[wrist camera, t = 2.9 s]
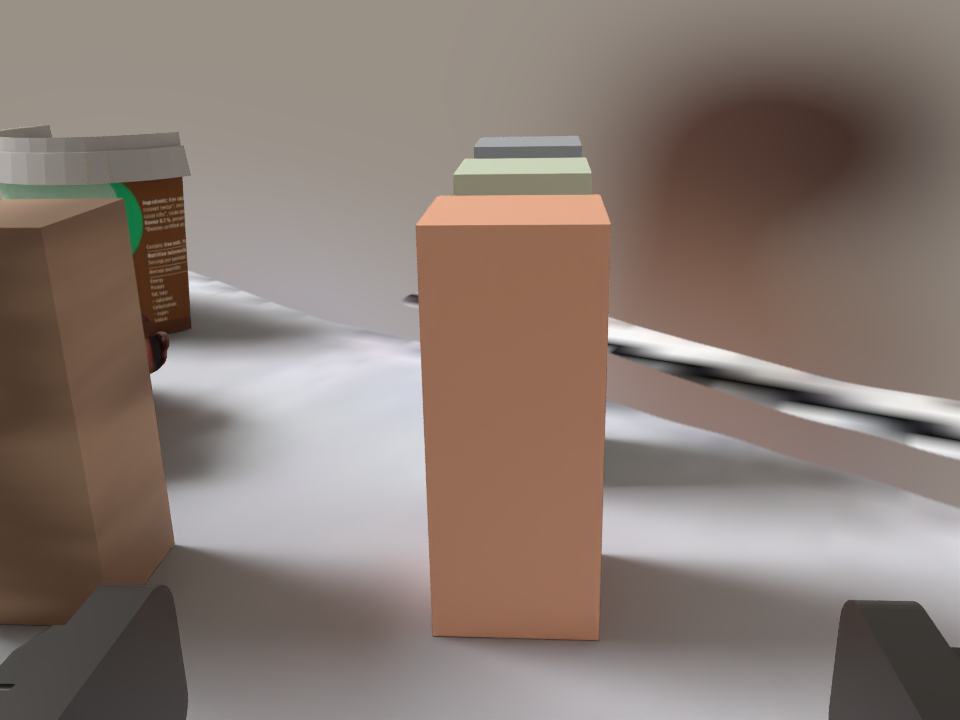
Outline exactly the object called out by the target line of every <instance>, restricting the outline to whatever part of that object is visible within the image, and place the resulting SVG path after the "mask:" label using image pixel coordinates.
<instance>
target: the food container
mask: <svg viewBox="0 0 960 720" xmlns="http://www.w3.org/2000/svg"><path fill="white" fill-rule="evenodd" d="M190 175H191V174H190V170H189V166H188V162H187V158H186V154H185V149H184V146H181V145H180V139H179V132H169V133H156V134H140V135H123V136H105V137H104V136H103V137H73V138H52V135H51V131H50V126H49V125H45V126H31V127H21V128H13V129H5V130H0V189H1V192H2V196H3V199H104V198H124V201H125V208H126V215H127V222H128V229H129V236H130V242H131V249H132V256H133V263H134V270H135V277H136V283H137V290H138V297H139V304H140V311H141V313H142V314H144V315H145V316H147V317H148V319H149V320H150V321H149V322H147V321H142V324H143V331H144V333H146V334H148V335H155V334H156V333H158V332H165V333H166V334H169V333H174V332H178V331H182V330H185V329H189V328H191V317H190V300H189V283H188V267H187V251H186V250H187V249H186V234H185V233H186V232H185V216H184V200H183V199H184V198H183V181H182V177H183V176H190Z"/></svg>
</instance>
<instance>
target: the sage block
mask: <svg viewBox="0 0 960 720" xmlns="http://www.w3.org/2000/svg"><path fill="white" fill-rule="evenodd" d="M453 181H454V182H453V184H454V196H487V195H591V181H592V174H591V170H590V167H589V165H588V162H587V159H586V158H502V159H465V160H464V161H463V162H462V164H461V165H460V166H459V168H458V169H457V170H456V172H455V173H454V174H453Z"/></svg>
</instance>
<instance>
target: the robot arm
mask: <svg viewBox="0 0 960 720" xmlns="http://www.w3.org/2000/svg"><path fill="white" fill-rule="evenodd" d="M187 707H188V692H187V684H186V677H185V671H184V664H183V658H182V651H181V644H180V638H179V631H178V625H177V618H176V611H175V605H174V600H173V596H172V594H171V592H170V590H169V589H168V587H166V586H164V585H131V584H103V585H101V586H99V587H98V588H97V589H96V590H95V591H94V592H93V593H92V594H91V595H90V597H89V598H88V599H87V600H86V601H85V602H84V604H83V605H82V606H81V607H80V608H79V610H78V611H77V612H76V613H75V614H74V615H73V617H72V618H71V619H70V620H69V621H68V622H67V624H66V625H53V626H52V627H50V628H48V629H47V630H45V631H44V632H42V633H41V634H39V635H38V636H36V637H35V638H33V639H32V640H30V641H28V642H27V643H25V644H24V645H22V646H21V647H19V648H18V649H16V650H15V651H13V652H12V653H11V654H10V655H9V657H8V658H7V659H6V660H5V661H4V662H3V663H2V664H1V665H0V720H186V716H187ZM829 720H960V648H954V647H950V646H949V645H948V643H947V642H946V640H945V639H944V637H943V636H942V635H941V633H940V632H939V630H938V629H937V627H936V626H935V624H934V623H933V621H932V620H931V618H930V617H929V616H928V614H927V613H926V611H925V610H924V608H923V607H922V606H921V605H920V604H919V603H917V602H915V601H869V600H848V601H847V602H846V603H845V604H844V606H843V608H842V611H841V616H840V622H839V631H838V639H837V647H836V656H835V664H834V672H833V681H832V689H831V697H830V705H829Z"/></svg>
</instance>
